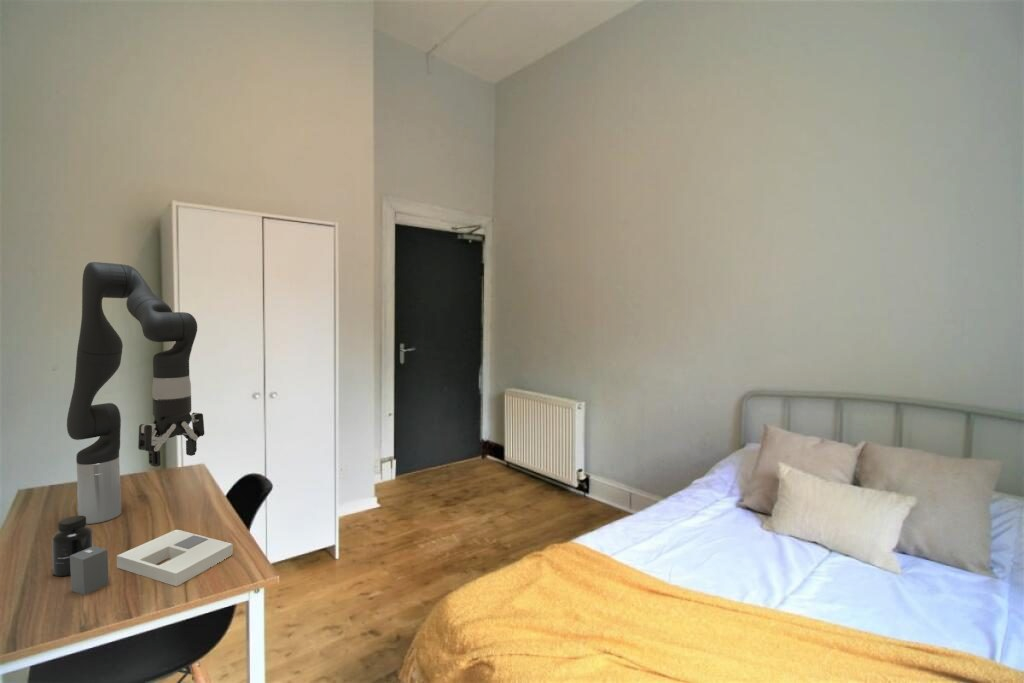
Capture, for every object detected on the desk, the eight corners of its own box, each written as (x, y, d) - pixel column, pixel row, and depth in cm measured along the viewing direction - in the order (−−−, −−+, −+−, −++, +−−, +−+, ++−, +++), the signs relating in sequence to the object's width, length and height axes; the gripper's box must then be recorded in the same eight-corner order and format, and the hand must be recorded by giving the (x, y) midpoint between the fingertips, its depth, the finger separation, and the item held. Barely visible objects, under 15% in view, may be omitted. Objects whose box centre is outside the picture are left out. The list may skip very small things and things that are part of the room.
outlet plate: (117, 567, 109) (116, 554, 109) (176, 540, 123) (176, 528, 122) (176, 586, 103) (176, 572, 103) (232, 555, 116) (232, 543, 116)
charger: (71, 590, 100) (69, 554, 100) (95, 579, 105) (94, 544, 104) (84, 595, 99) (83, 558, 98) (108, 583, 103) (107, 548, 103)
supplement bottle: (58, 580, 104) (56, 529, 103) (48, 571, 107) (46, 521, 107) (97, 566, 110) (95, 518, 109) (87, 557, 113) (85, 510, 112)
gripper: (189, 388, 119) (190, 450, 120) (129, 398, 105) (131, 467, 107) (211, 391, 117) (212, 453, 118) (152, 401, 103) (154, 472, 104)
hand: (173, 460), depth 112 cm, fingers open, 8 cm apart
